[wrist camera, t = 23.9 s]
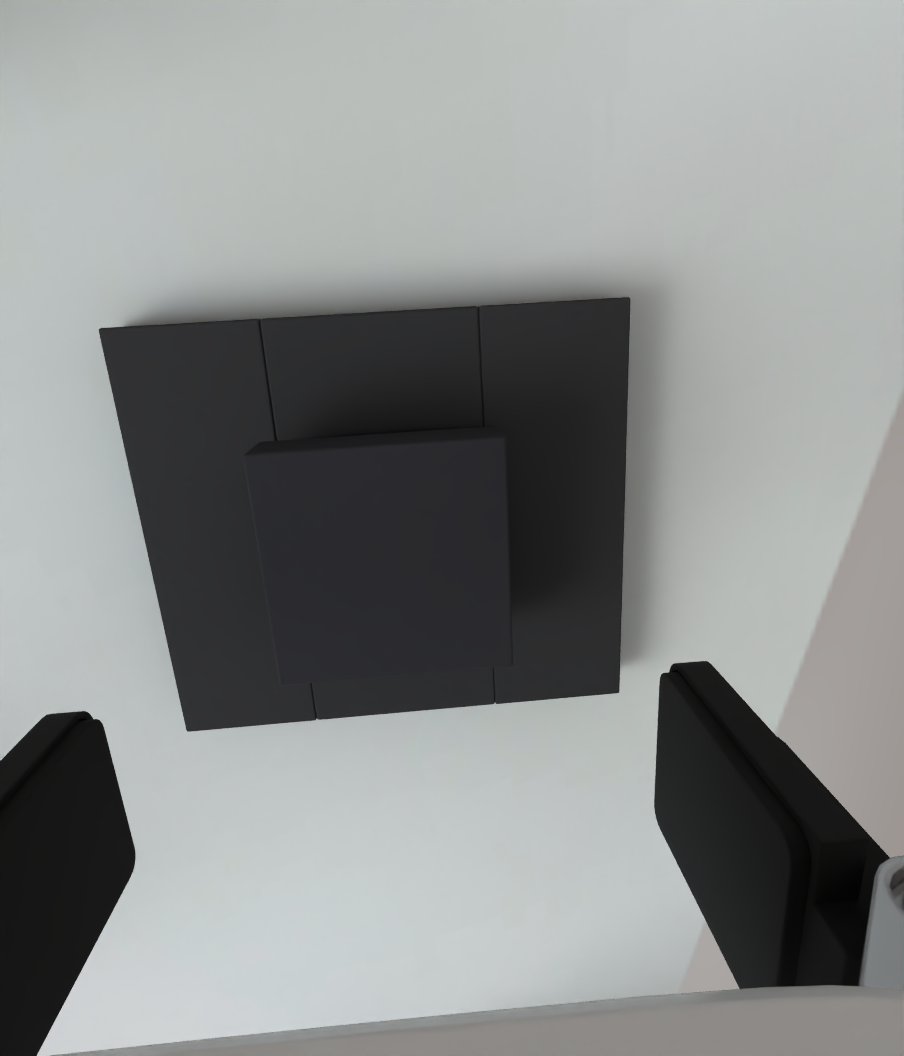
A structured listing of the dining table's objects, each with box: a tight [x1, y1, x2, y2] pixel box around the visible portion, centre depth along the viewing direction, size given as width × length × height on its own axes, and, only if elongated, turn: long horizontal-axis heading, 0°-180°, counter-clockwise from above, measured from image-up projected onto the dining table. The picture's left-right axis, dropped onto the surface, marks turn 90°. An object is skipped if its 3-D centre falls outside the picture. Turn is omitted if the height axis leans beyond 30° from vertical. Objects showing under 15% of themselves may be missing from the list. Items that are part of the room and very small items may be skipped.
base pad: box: [99, 297, 630, 731], centre depth 22 cm, size 16×14×2 cm
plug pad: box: [243, 426, 513, 686], centre depth 20 cm, size 7×7×4 cm
